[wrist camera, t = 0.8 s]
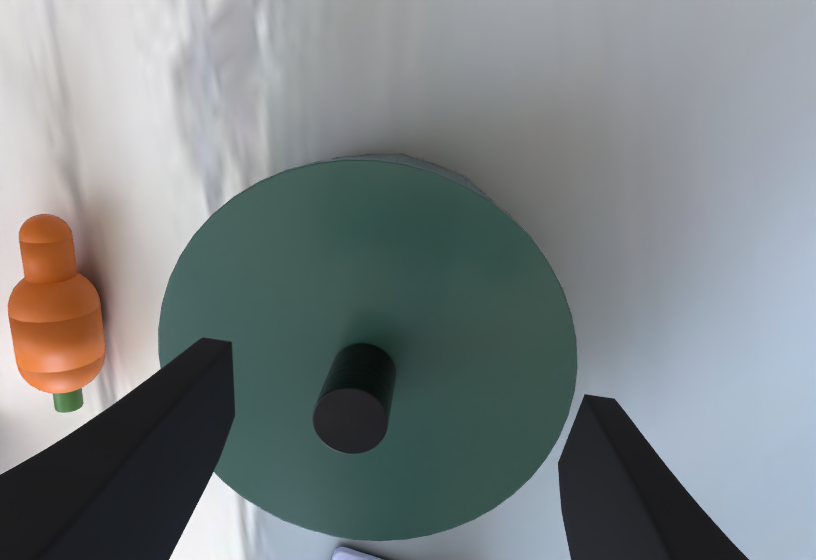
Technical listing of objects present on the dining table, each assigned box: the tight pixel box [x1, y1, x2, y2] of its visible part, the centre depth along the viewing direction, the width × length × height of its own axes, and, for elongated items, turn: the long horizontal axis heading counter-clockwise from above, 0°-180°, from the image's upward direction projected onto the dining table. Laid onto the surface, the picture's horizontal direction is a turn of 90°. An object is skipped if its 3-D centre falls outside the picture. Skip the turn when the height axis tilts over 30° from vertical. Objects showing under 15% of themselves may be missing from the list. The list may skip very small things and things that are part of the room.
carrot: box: [8, 214, 105, 413], centre depth 26 cm, size 10×4×4 cm, turn 176°
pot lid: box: [158, 158, 577, 541], centre depth 20 cm, size 15×15×4 cm
